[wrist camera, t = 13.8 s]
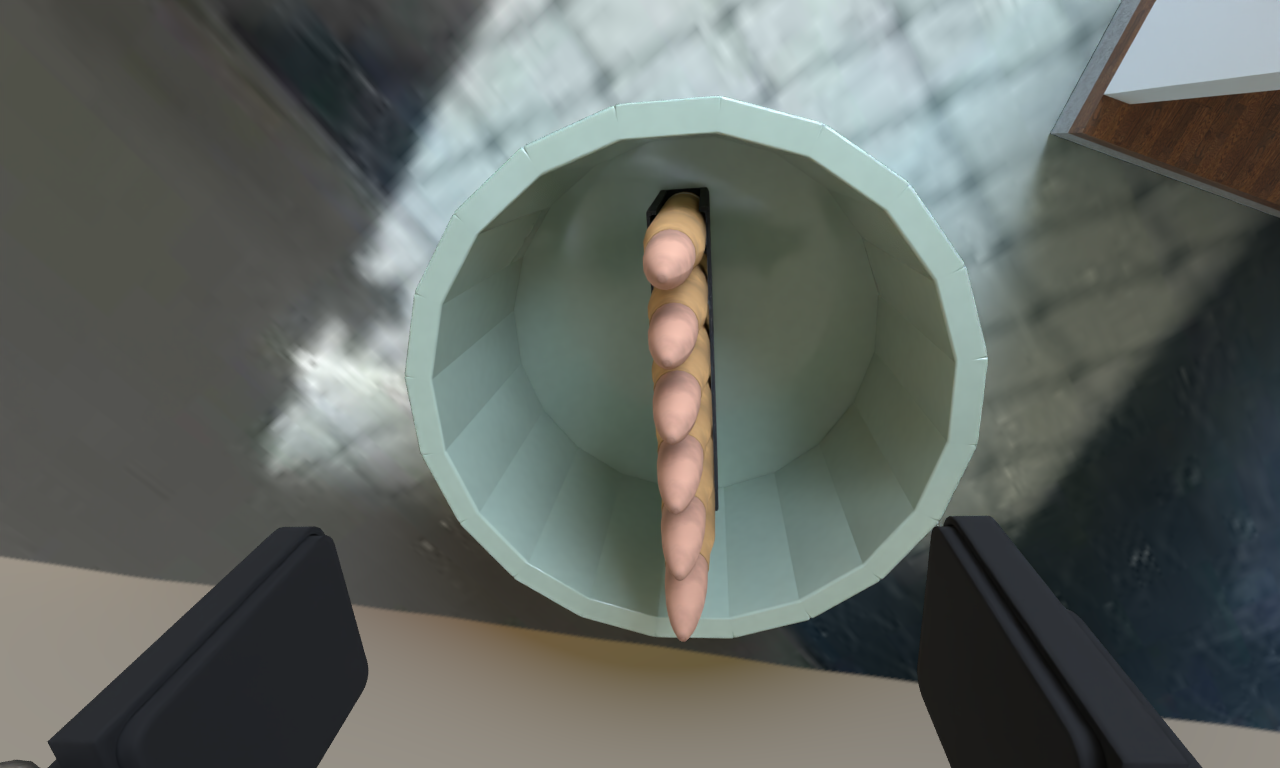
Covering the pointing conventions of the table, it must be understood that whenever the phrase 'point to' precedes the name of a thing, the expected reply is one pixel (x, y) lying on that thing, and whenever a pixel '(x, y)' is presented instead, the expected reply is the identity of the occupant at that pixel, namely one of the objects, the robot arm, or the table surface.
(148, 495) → the table surface
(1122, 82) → the architectural tower model
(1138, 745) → the robot arm
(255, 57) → the table surface
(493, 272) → the pale green bowl
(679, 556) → the ammunition clip
